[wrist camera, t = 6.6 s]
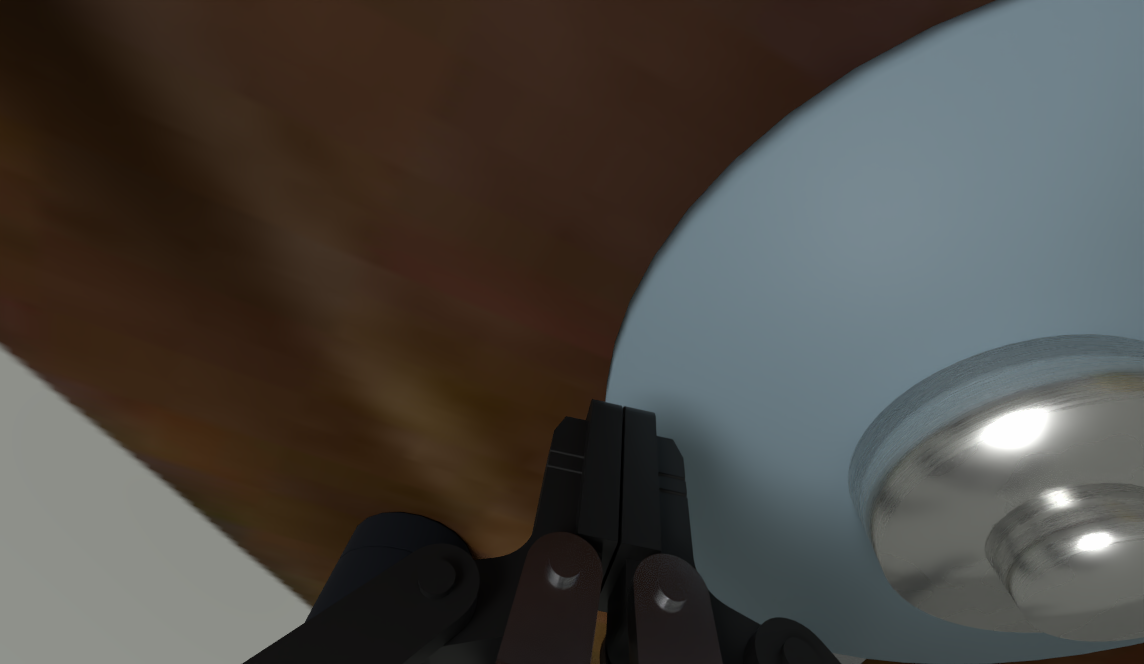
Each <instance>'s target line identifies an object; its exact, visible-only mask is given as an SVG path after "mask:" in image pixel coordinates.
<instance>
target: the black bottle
mask: <svg viewBox="0 0 1144 664" xmlns="http://www.w3.org/2000/svg"><path fill="white" fill-rule="evenodd" d="M440 543H443V544H450V545H454V546H457V547H459V548H461V549H463V550H464V551H466V552H467V553H468V554H469V555H470V556H471V554H470V552H469V550H468V548H467V545H466V544H465V543H464V542H463V541H462V540H461V539H460V538H459V537H458V536H457V535H456V534H455V533H454V532H453V531H451V530H450V529H448V528H446V527H445V526H443V525H442V524H440V523H438V522H436V521H433V520H430V519H428V518H425V517H423V516H419V515H414V514H408V513H402V512H394V513H381V514H378V515H375V516H372V517H368V518H367V519H366V520H364V521H363V522H362V523H361V524H360V525H358V526H357V528H356V530H355V532H354V533H353V535H352V537H351V539H350V541H349V543H348V544H347V546H346V548H345V550H344V552H343V553H342V555H341V557H340V559H339V561H338V563H337V564H336V566H335V568H334V570H333V572H332V574H331V575H330V577H329V579H328V581H327V583H326V584H325V586H324V588H323V590H322V592H321V594H320V595H319V597H318V599H317V601H316V603H315V605H314V606H313V608H312V610H311V612H310V614H309V615H308V617H307V619H306V621H305V622H307V621H308V620H310V619H311V618H313V617H315V616H316V615H318V614H319V613H321V612H322V611H324V610H325V609H327V608H328V607H330V606H331V605H333V604H334V603H336V602H338V601H339V600H341V599H342V598H344V597H345V596H347V595H348V594H350V593H351V592H353V591H354V590H356V589H357V588H359V587H361V586H362V585H364V584H365V583H367V582H368V581H370V580H371V579H373V578H374V577H376V576H377V575H379V574H380V573H382V572H384V571H385V570H387V569H388V568H390V567H391V566H393V565H394V564H396V563H397V562H399V561H400V560H402V559H403V558H405V557H406V556H408V555H410V554H411V553H413V552H414V551H416V550H418V549H420V548H422V547H424V546H427V545H431V544H440ZM471 557H472V556H471Z"/></svg>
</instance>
